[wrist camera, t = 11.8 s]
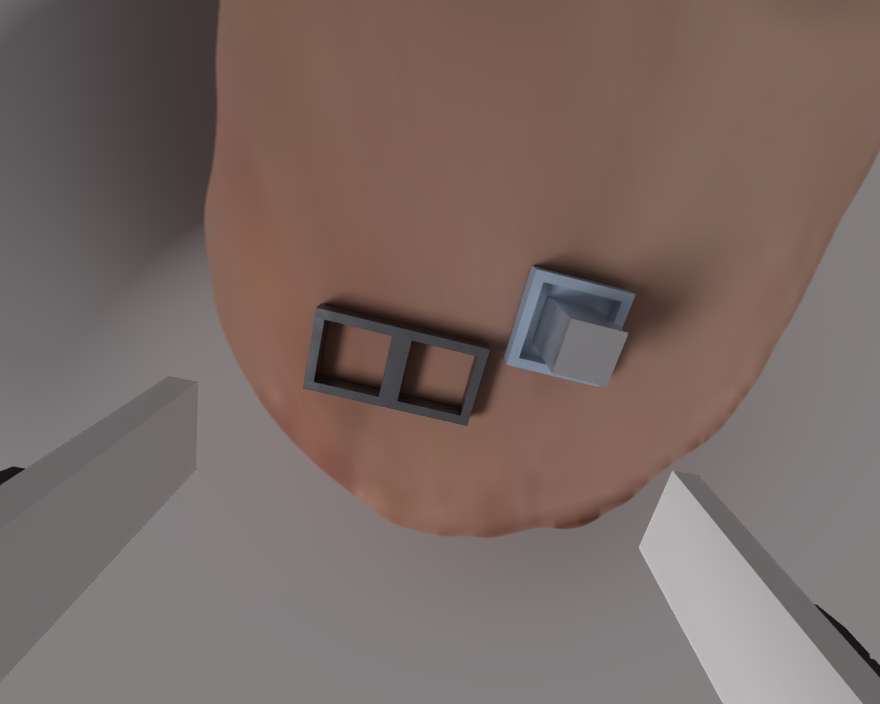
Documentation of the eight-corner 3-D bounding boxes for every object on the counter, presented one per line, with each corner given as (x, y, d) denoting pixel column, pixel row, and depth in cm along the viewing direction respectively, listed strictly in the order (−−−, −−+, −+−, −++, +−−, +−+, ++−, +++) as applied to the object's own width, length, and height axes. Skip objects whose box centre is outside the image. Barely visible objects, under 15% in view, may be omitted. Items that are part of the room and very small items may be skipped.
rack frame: (321, 303, 46) (315, 307, 45) (488, 343, 48) (490, 349, 46) (308, 381, 49) (302, 388, 47) (466, 417, 50) (467, 425, 49)
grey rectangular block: (547, 296, 45) (571, 318, 37) (594, 308, 46) (628, 332, 37) (532, 341, 47) (551, 373, 38) (577, 353, 47) (607, 386, 39)
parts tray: (532, 265, 45) (536, 269, 43) (625, 289, 46) (635, 294, 43) (503, 356, 48) (506, 364, 46) (591, 377, 49) (599, 386, 46)
